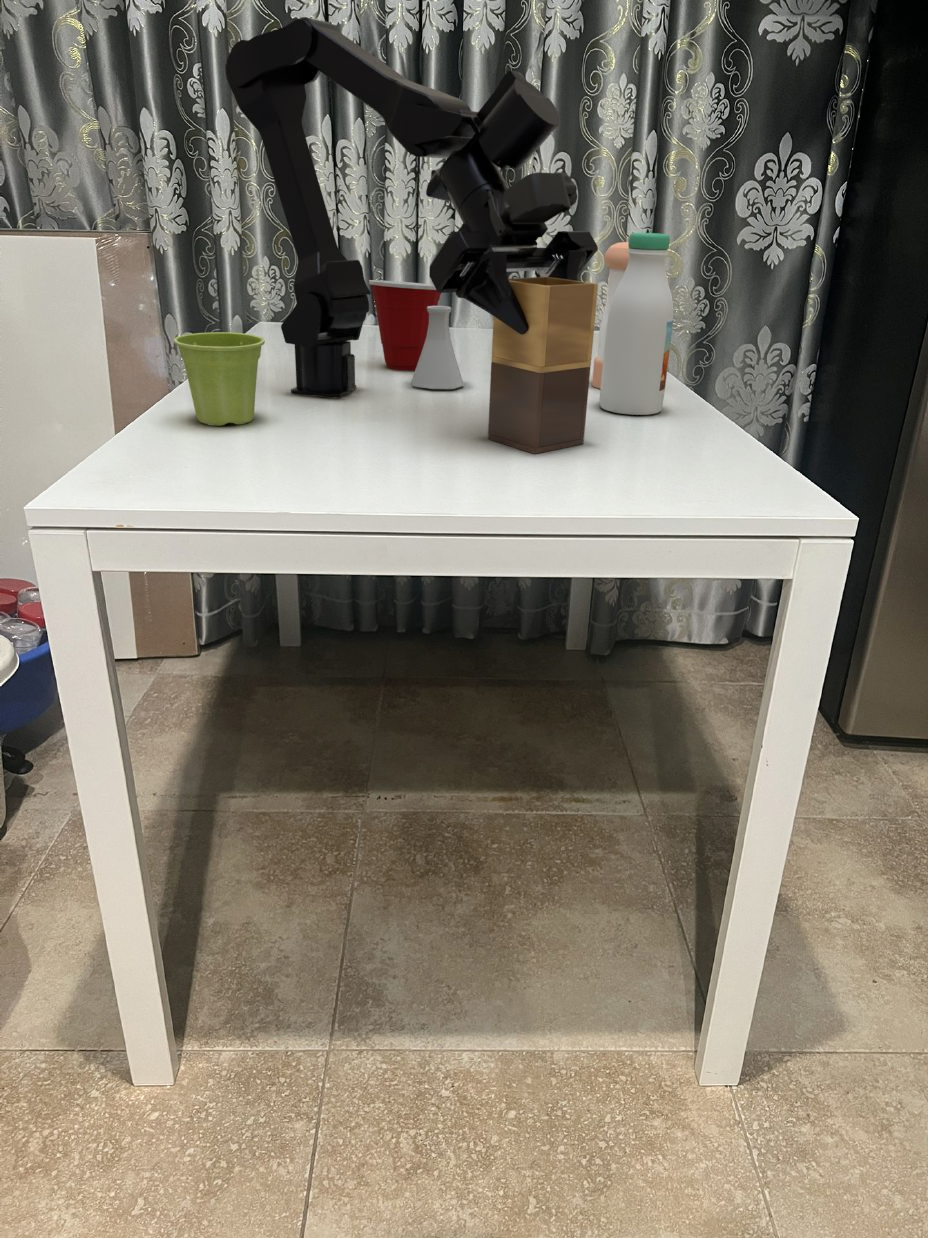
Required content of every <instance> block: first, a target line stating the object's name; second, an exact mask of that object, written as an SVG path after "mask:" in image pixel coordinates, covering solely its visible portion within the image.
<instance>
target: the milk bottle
mask: <svg viewBox="0 0 928 1238" xmlns="http://www.w3.org/2000/svg"><path fill="white" fill-rule="evenodd" d="M628 237H629V243H628V247H629V249H628V253H629V262H628V265H627V268H626V271H625V273H624V275H623V278H622V280H621V282H620V283H619V285H618V287H617V289H616V291H615V293H614V295H613V298H612V301H611V304H610V309H609V314H608V322H607V330H606V339H605V349H604V358H603V369H602V379H601V389H600V388H599V389H600V391H599V405H600V408H601V409H602V410H604V411H608V412H611V413H616V414H623V415H633V416H634V415H636V416H639V415H640V416H644V415H653V414H658V413H659V412H661V410H662V409H663V405H664V397H665V390H666V383H667V375H668V368H669V361H670V360H669V359H670V352H671V351H670V350H671V344H672V334H673V324H674V299H673V295H672V291H671V288H670V285H669V281H668V280H669V279H668V277H667V270H666V257H667V256H668V255H669V248H670V243H671V237H670V235H669V234H666V233H655V232H631V233H630V234H629V236H628Z"/></svg>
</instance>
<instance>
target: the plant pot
mask: <svg viewBox="0 0 928 1238" xmlns="http://www.w3.org/2000/svg"><path fill="white" fill-rule="evenodd" d="M173 343H174V345H176V346H177V347H178V351H179V355H180V358H181V359H182V360H183V364H184V368H185V372H186V377H187V381H188V385H189V390H190V394H191V399H192V403H193V408H194V412H195V417H196V419H197V421H198V422H199V423H202V424H203V425H212V426H216V427H217V426H218V427H220V426H225V425H226V424H234V425H245V424H247V423H250V422H252V421H253V420H254V418H255V405H256V393H257V392H256V391H257V379H258V378H257V377H258V368H259V367H258V366H259V360H260V358H261V355H262V346H263V345H264V344H266V340H265V338H264V337H262V336H259V335H255V334H250V333H244V332H231V331H230V332H227V331H221V332H219V331H218V332H215V331H214V332H209V331H208V332H197V333H188V334H182V335H179V336H176V337H175V338H173Z"/></svg>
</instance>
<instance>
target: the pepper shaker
mask: <svg viewBox="0 0 928 1238" xmlns="http://www.w3.org/2000/svg"><path fill="white" fill-rule="evenodd" d="M628 243H629V236H628V237H627V241H625V242H624V241H620V242H616V243H614V244H612V245H610V246H609V248H608V249H607V250H606V251H605V254H604V263H605V265H606V267H608V268H609V273H608V282H607V290H606V301H605V306H604V310H603V314H602V319H601V323H600V325H599V330H598V342H597V344H598V345H597V356H596V357H595V358H594V359H593V369H592V370H593V371H592V377H591V385H592V387H594V388H597V389H601V379H602V369H603V358H604V349H605V339H606V330H607V322H608V314H609V309H610V304H611V301H612V298H613V295H614V293H615V291H616V289H617V287H618V285H619V283H620V282H621V280H622V278H623V275H624V273H625V271H626V268H627V265H628V262H629V253H628V249H629V247H628Z"/></svg>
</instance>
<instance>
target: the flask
mask: <svg viewBox="0 0 928 1238" xmlns="http://www.w3.org/2000/svg"><path fill="white" fill-rule="evenodd" d="M427 311H428V312H429V325H428V331H427V337H426V340H425V343H424V346H423V349H422V352H421V355H420V358H419V361H418V364H417V367H416V369H415V371H414V372H413V374H412V378H411V381H410V382H411V385H412V387H417V388H423V389H430V390H455V389H458V388H461V387H464V386H465V384H464V380H463V378H462V374H461V370H460V367H459V363H458V360H457V357H456V353H455V349H454V346H453V343H452V339H451V332H450V331H451V330H450V313H451V312H452V307H451V306H445V305H438V306H428V307H427Z"/></svg>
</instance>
